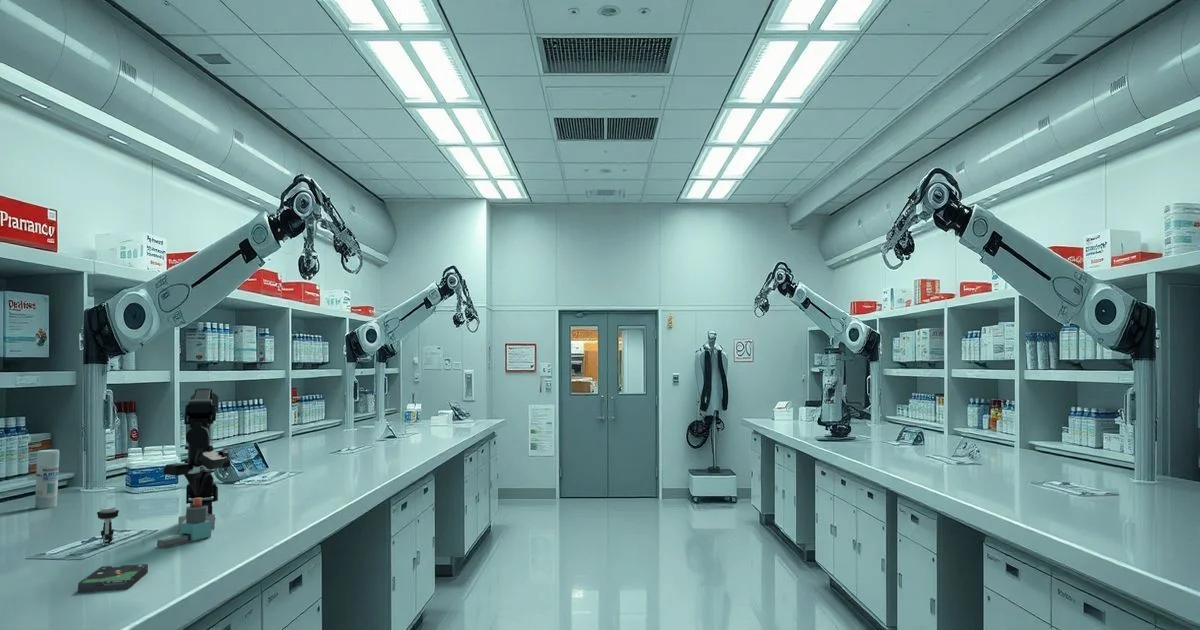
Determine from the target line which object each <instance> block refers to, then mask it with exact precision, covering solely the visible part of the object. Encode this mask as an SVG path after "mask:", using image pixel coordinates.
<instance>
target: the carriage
mask: <svg viewBox="0 0 1200 630" xmlns="http://www.w3.org/2000/svg"><path fill="white" fill-rule="evenodd" d="M205 518H206V508H203V507H194V508H189V509H187V516H186V523H181V525H180V532H179V535H181V534H185V533H186V534H191V541H192V542H194V541H193V540H196V541H198V540H197V539H200V540H203V539H202V538H205V539H207V538H206V537H209V538H211V537H212V530H211V521H206V520H205ZM210 536H211V537H210Z"/></svg>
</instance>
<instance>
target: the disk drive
mask: <svg viewBox="0 0 1200 630" xmlns="http://www.w3.org/2000/svg"><path fill="white" fill-rule="evenodd" d="M148 571H149V563H144V564H143V563H142V564H141V563H140V564H125V565H120V566H112V565H109V566H107V565H105V566H101V567H99V568H97V569H96V570H94V572H92V573H91V574H89V575H88V576H86V577H85V578H84V579H82V580H81V581H80V582H78V583H77V594H83V593H84V594H85V593H95V592H97V593H98V592H111V591H113V592H114V591H122V590H123V591H126V590H130V589H131V588H132V587H133V586H134V585H135V584H137V583H138V581H140V580H142V578H143V577H145V575H147V574H148Z"/></svg>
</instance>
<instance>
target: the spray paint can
mask: <svg viewBox="0 0 1200 630" xmlns="http://www.w3.org/2000/svg"><path fill="white" fill-rule="evenodd" d="M60 453H61V452H60V449H42V450H38V451H37V453H36V473H35V497H34V498H35V500H34V503H35V504H34V507H35V509H38V510H39V509H40V510H43V509H51V508H56V507H57V505H58V490H59V487H58V486H59V471H60V470H59V468H60Z"/></svg>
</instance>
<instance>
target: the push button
mask: <svg viewBox="0 0 1200 630" xmlns="http://www.w3.org/2000/svg"><path fill="white" fill-rule="evenodd" d="M119 513H120V510H119V509H116V506H108V507H107V506H105V507H102V508H100V511H97V512H96V515H97V518H98V519H99V520H101V521H103V527H102V530H101V531H100V536H101V538H100V540H102V541H100V543H101V544H102V545H103V544H104V546H109V545H108V544H110V545H111V543H112V542H111V541H112V540H113V541H114V532H115V529H113V527H112V523H113V522H112V520H114V519H116V517H119ZM110 542H111V543H110Z"/></svg>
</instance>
